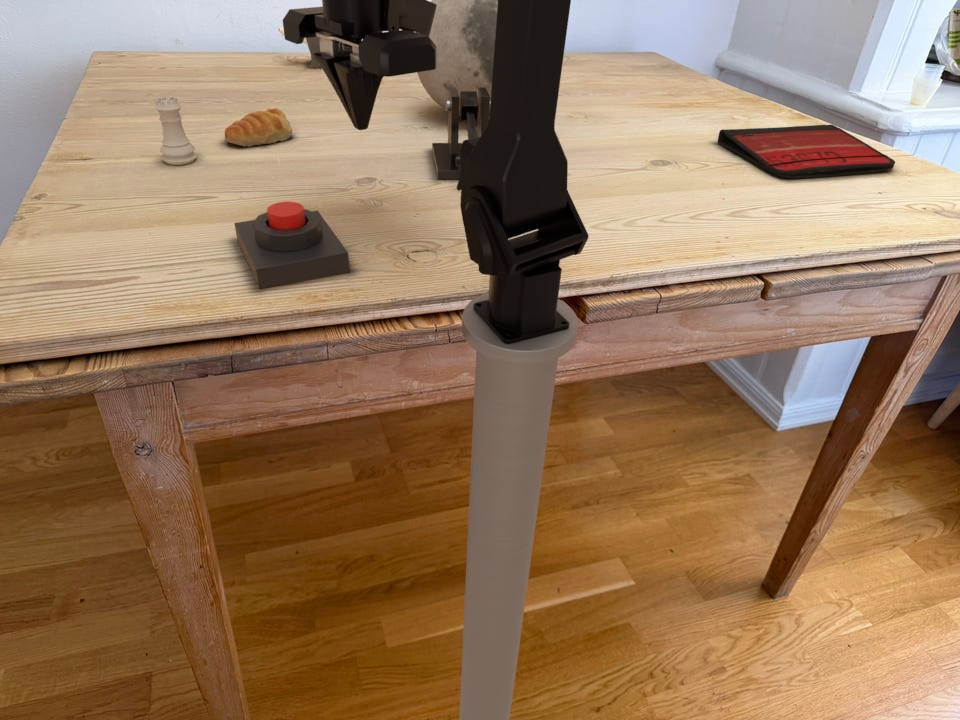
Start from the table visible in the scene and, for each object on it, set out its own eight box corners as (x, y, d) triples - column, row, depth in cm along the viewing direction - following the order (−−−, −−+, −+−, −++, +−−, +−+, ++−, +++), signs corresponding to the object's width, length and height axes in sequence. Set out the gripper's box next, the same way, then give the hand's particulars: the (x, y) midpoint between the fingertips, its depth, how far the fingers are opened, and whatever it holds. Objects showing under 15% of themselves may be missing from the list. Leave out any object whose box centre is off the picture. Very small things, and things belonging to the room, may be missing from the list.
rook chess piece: (163, 167, 89) (148, 105, 84) (161, 156, 92) (146, 95, 88) (198, 163, 91) (186, 102, 86) (195, 152, 94) (183, 93, 89)
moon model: (393, 123, 108) (388, -19, 96) (444, 93, 123) (445, -33, 112) (510, 143, 103) (520, -5, 91) (548, 109, 118) (561, -21, 106)
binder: (719, 127, 105) (832, 122, 110) (715, 142, 107) (826, 136, 112) (781, 169, 93) (904, 160, 98) (775, 185, 95) (897, 176, 100)
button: (309, 229, 68) (308, 212, 67) (273, 234, 67) (271, 218, 66) (300, 215, 71) (298, 199, 70) (265, 220, 69) (263, 204, 68)
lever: (494, 171, 86) (496, 157, 84) (455, 171, 86) (457, 157, 84) (485, 105, 92) (487, 91, 90) (448, 105, 91) (449, 90, 89)
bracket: (504, 178, 91) (509, 103, 85) (437, 179, 90) (438, 103, 84) (493, 150, 100) (496, 81, 94) (432, 151, 98) (432, 80, 93)
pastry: (242, 152, 95) (237, 125, 92) (215, 141, 98) (210, 114, 96) (297, 138, 101) (294, 111, 98) (270, 127, 104) (266, 102, 102)
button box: (349, 272, 69) (346, 236, 66) (259, 289, 65) (253, 251, 63) (319, 228, 76) (316, 194, 74) (237, 241, 73) (231, 206, 71)
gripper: (485, -38, 60) (478, 139, 69) (369, -58, 71) (376, 96, 80) (379, -32, 54) (387, 160, 63) (270, -55, 65) (291, 111, 74)
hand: (361, 128), depth 70 cm, fingers closed
